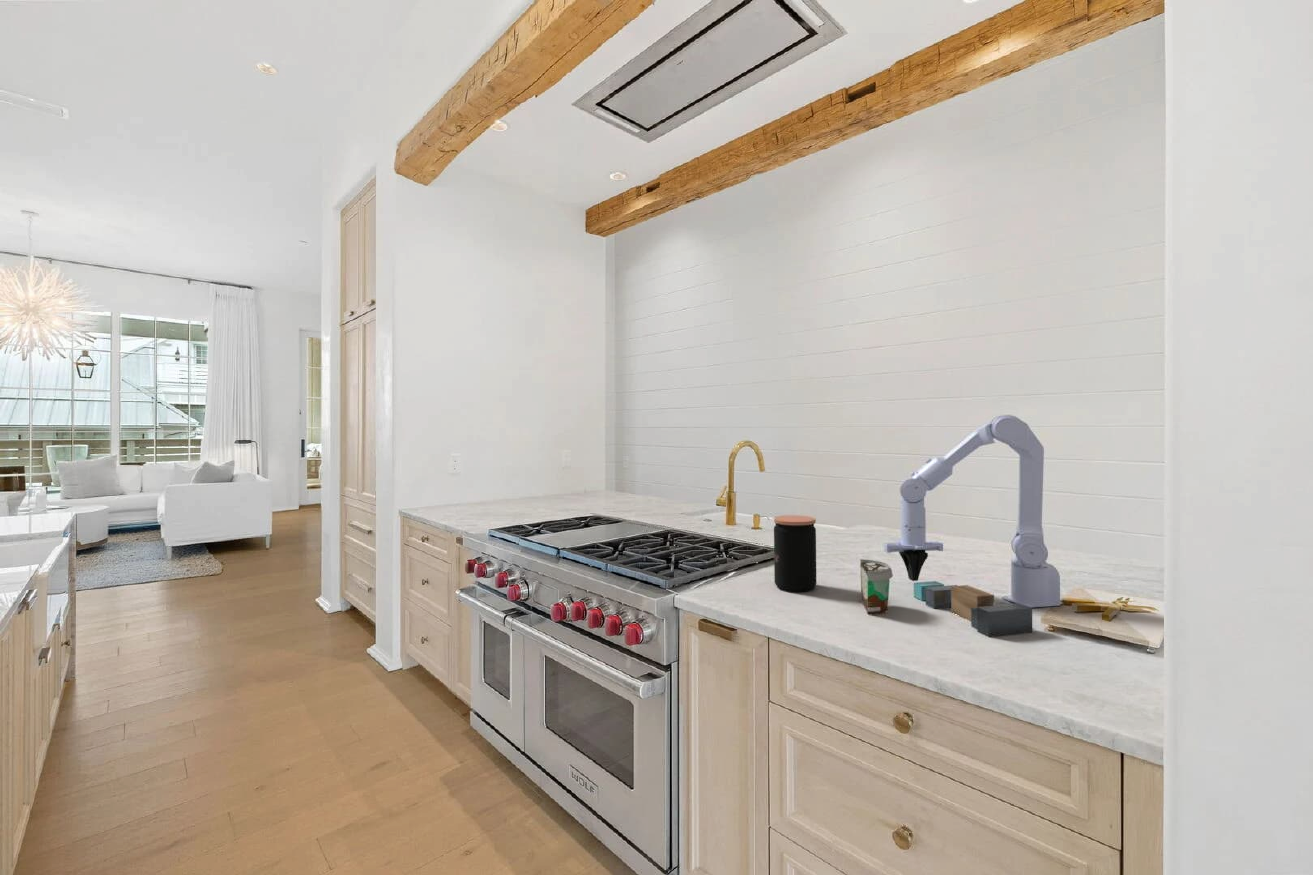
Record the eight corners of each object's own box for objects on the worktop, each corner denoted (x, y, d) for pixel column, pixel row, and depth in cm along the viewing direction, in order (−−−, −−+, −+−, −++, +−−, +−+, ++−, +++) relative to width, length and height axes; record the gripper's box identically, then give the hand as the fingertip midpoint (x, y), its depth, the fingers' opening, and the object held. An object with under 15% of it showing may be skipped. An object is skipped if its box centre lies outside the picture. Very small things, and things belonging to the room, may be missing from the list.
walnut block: (967, 611, 131) (967, 585, 131) (994, 623, 124) (993, 595, 123) (951, 613, 131) (951, 586, 131) (977, 624, 123) (977, 596, 123)
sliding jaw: (939, 594, 144) (939, 578, 144) (965, 605, 135) (965, 588, 135) (910, 597, 142) (909, 580, 142) (933, 608, 134) (933, 590, 133)
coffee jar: (784, 579, 160) (783, 514, 160) (822, 585, 154) (821, 517, 154) (767, 589, 152) (766, 519, 151) (807, 595, 146) (806, 523, 145)
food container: (898, 618, 128) (897, 572, 127) (868, 616, 129) (868, 571, 129) (887, 601, 140) (887, 559, 140) (860, 600, 141) (860, 558, 141)
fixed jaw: (1009, 623, 123) (1009, 599, 123) (1032, 632, 117) (1032, 608, 117) (966, 626, 122) (966, 602, 121) (988, 636, 116) (988, 611, 116)
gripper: (892, 529, 143) (893, 585, 143) (950, 527, 144) (950, 583, 144) (879, 524, 150) (879, 577, 150) (934, 523, 151) (934, 575, 151)
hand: (913, 579), depth 148 cm, fingers closed
